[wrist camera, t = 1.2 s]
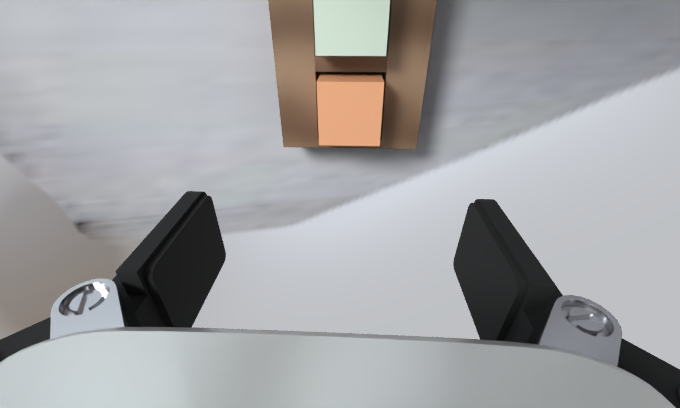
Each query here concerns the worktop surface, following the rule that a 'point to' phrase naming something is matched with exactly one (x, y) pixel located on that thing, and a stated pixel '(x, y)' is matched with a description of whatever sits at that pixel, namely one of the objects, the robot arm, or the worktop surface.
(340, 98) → the terracotta key
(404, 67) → the key panel
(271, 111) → the worktop surface
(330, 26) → the sage key
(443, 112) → the worktop surface
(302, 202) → the worktop surface
